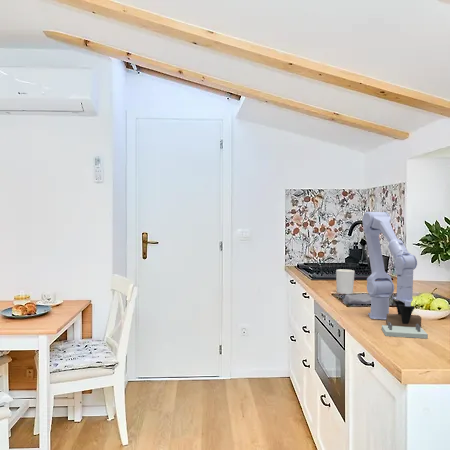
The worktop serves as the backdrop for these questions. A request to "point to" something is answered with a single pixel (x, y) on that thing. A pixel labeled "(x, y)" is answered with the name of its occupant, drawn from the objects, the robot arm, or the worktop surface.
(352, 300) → the stone block
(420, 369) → the worktop surface
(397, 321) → the walnut plank
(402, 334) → the peg stand
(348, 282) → the candle holder
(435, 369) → the worktop surface
